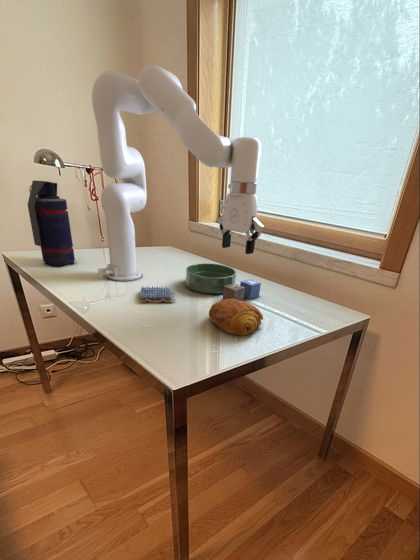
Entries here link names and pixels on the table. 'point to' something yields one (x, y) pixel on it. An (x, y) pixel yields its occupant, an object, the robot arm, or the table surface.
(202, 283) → the faceted green bowl
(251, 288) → the periwinkle blue block
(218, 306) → the croissant
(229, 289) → the walnut block
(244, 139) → the robot arm
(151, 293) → the spiked square pad
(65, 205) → the grenade
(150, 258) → the table surface
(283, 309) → the table surface
